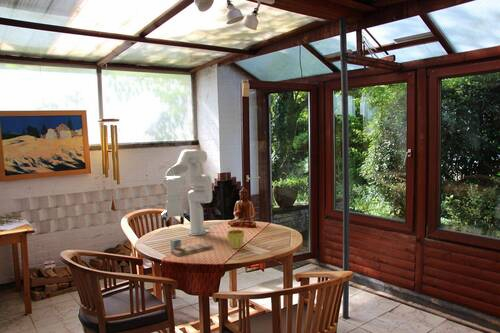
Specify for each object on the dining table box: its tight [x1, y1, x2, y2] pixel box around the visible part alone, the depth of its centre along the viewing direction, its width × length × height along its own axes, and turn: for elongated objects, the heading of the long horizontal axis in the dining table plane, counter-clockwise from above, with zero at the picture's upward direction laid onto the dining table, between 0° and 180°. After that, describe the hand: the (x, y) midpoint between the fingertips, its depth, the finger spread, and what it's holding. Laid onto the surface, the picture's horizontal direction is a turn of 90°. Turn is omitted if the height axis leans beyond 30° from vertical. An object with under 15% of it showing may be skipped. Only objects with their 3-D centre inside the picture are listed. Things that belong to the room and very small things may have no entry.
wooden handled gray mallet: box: [170, 238, 186, 251], centre depth 247 cm, size 5×13×7 cm, turn 36°
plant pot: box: [227, 229, 245, 249], centre depth 254 cm, size 10×10×10 cm
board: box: [170, 242, 214, 257], centre depth 250 cm, size 24×9×2 cm, turn 126°
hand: (174, 225), depth 250 cm, fingers open, 9 cm apart
